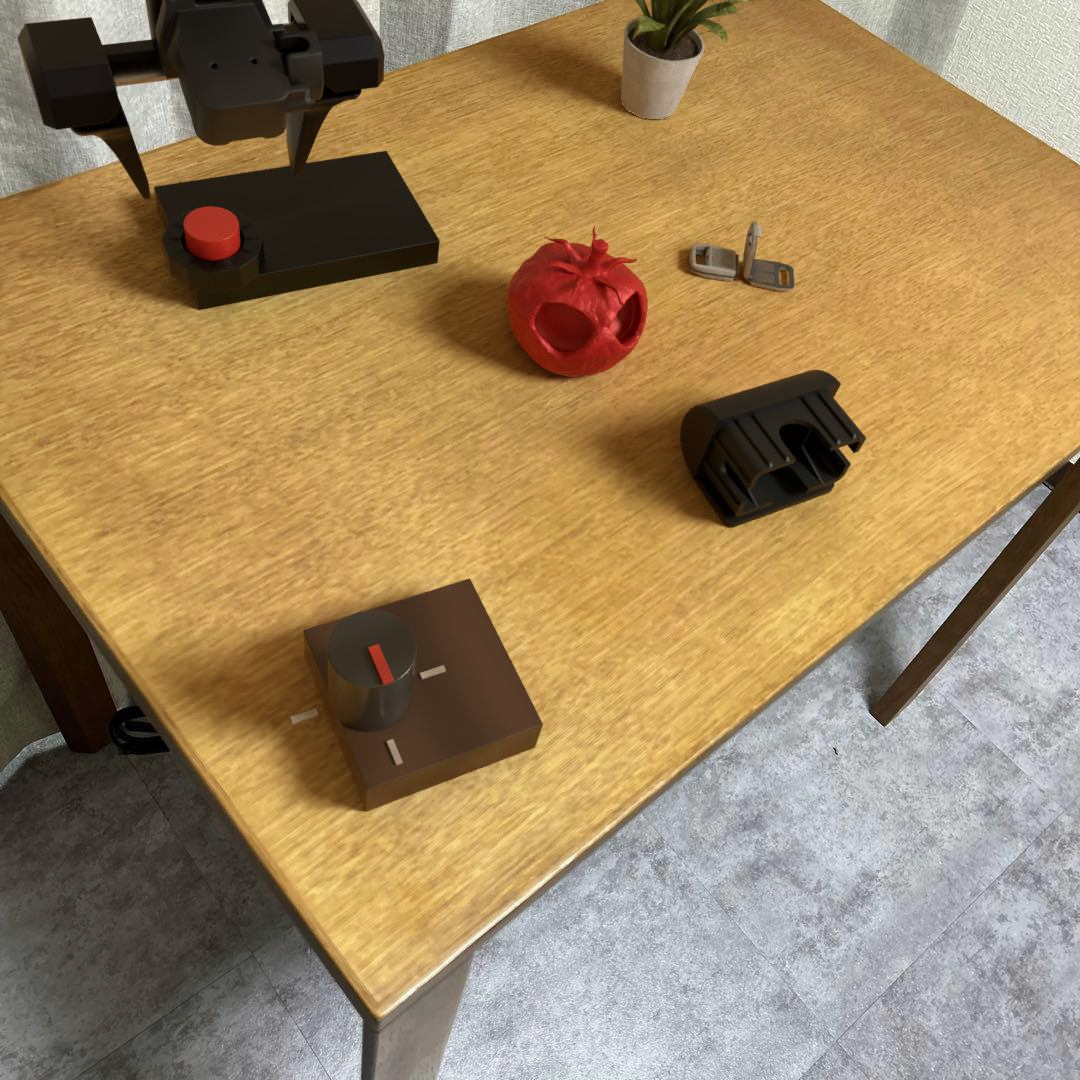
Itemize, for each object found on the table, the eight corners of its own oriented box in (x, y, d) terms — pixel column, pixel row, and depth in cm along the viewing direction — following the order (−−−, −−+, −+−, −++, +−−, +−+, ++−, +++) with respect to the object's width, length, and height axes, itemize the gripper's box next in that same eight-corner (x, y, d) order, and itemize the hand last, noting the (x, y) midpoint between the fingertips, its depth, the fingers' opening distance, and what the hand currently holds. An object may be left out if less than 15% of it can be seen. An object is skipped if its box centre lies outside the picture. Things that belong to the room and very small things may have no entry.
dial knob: (316, 672, 59) (315, 622, 55) (393, 647, 61) (398, 596, 56) (344, 743, 57) (345, 696, 53) (423, 715, 59) (430, 667, 54)
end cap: (782, 416, 80) (815, 349, 74) (839, 489, 77) (878, 425, 71) (667, 454, 76) (692, 386, 71) (721, 532, 73) (753, 468, 67)
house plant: (691, 182, 94) (750, -4, 81) (546, 121, 96) (580, -70, 83) (744, 103, 102) (805, -78, 89) (609, 48, 104) (650, -137, 91)
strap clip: (687, 275, 87) (702, 232, 84) (688, 250, 89) (702, 207, 86) (792, 294, 88) (811, 253, 84) (791, 269, 90) (809, 227, 86)
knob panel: (324, 828, 58) (323, 805, 55) (264, 669, 62) (261, 640, 60) (535, 747, 62) (544, 723, 59) (465, 604, 67) (470, 576, 64)
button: (194, 265, 75) (191, 245, 73) (179, 231, 76) (177, 211, 75) (247, 256, 76) (245, 236, 74) (231, 222, 78) (230, 202, 76)
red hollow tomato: (487, 299, 82) (502, 196, 75) (614, 291, 85) (641, 191, 77) (519, 399, 77) (539, 299, 69) (653, 387, 80) (686, 289, 72)
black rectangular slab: (184, 323, 76) (177, 279, 73) (140, 213, 82) (132, 168, 79) (442, 271, 83) (447, 229, 80) (385, 173, 89) (387, 130, 86)
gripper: (26, 37, 48) (93, 301, 61) (426, -5, 55) (411, 242, 67) (-18, -94, 54) (52, 175, 66) (352, -118, 60) (351, 131, 73)
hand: (222, 183), depth 68 cm, fingers open, 9 cm apart
